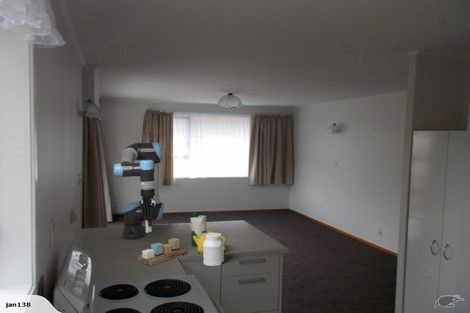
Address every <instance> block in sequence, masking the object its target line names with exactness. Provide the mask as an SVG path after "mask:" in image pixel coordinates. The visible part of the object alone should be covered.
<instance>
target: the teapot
mask: <svg viewBox="0 0 470 313" xmlns="http://www.w3.org/2000/svg"><path fill="white" fill-rule="evenodd" d="M208 233H214V232H213V231H207V232H206V233H204V234H202V235H201V236H199V238H198V237H197V236H193V238H194V240H195V242H196V244H197V245H198V247H196V248H197V250H196V251H197V253H198V254H199V253H203V243H204V241H205V239H206V234H208ZM220 234H221V239H222V241H223V242H224V245H225V244H226V241H227V240H226V238H225V236H223V234H222V233H220ZM225 250H226V247H225V246H224V251H225Z"/></svg>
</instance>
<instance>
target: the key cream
mask: <svg viewBox="0 0 470 313" xmlns="http://www.w3.org/2000/svg"><path fill="white" fill-rule="evenodd" d="M141 254H142V258H145V259H150V258H153V257H154V250H151V248H147V249H144V250H142V251H141Z"/></svg>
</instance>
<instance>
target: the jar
mask: <svg viewBox="0 0 470 313" xmlns="http://www.w3.org/2000/svg"><path fill="white" fill-rule="evenodd" d="M207 233H208V232H207ZM221 234H222V233H221V232H220V233H219V232H213V233H208V234H206V239H205V241H204V243H203V254H202V255H203V263H202V264H203V265H205V266H208V267H209V266H210V267H211V266H212V267H216V266H217V267H218V266H221V265H222V263H224V261H225V254H224V253H225V252H224V251H225V250H224V247H225V244H224V242H223V241H222V239H221Z"/></svg>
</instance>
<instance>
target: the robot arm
mask: <svg viewBox="0 0 470 313" xmlns="http://www.w3.org/2000/svg"><path fill="white" fill-rule="evenodd" d="M162 160H163V152H162V147H161V144H160V143H159V142H134V143H131V144H129V145H128V146H126V147H125V148H123V151H122V152H121V160H120V162H118V163H114V164H113V175H114V177H116V178H126V177H127V178H128V177H130V178H131V177H139V182H140V191H139V192H140V197H141V200H139V201H134V202H129V203H126V204H125V205H124V206H123V221H124V222H123V223H124V224H123V225H124V226H123V229H122V233H121V238H122V240H137V239H139V240H140V239H142V238H145V236H146V233H147V234H148V233H151V232H153V230H152V225H153V221H160V220H162V219H163V216H164V206H165V203H164V202H163V201H162V200H161V198H160V180H159V179H160V178H159V164H160V163H161V161H162ZM135 161H139V162H135ZM143 222H144V223H145V229H144V227H143Z"/></svg>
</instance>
